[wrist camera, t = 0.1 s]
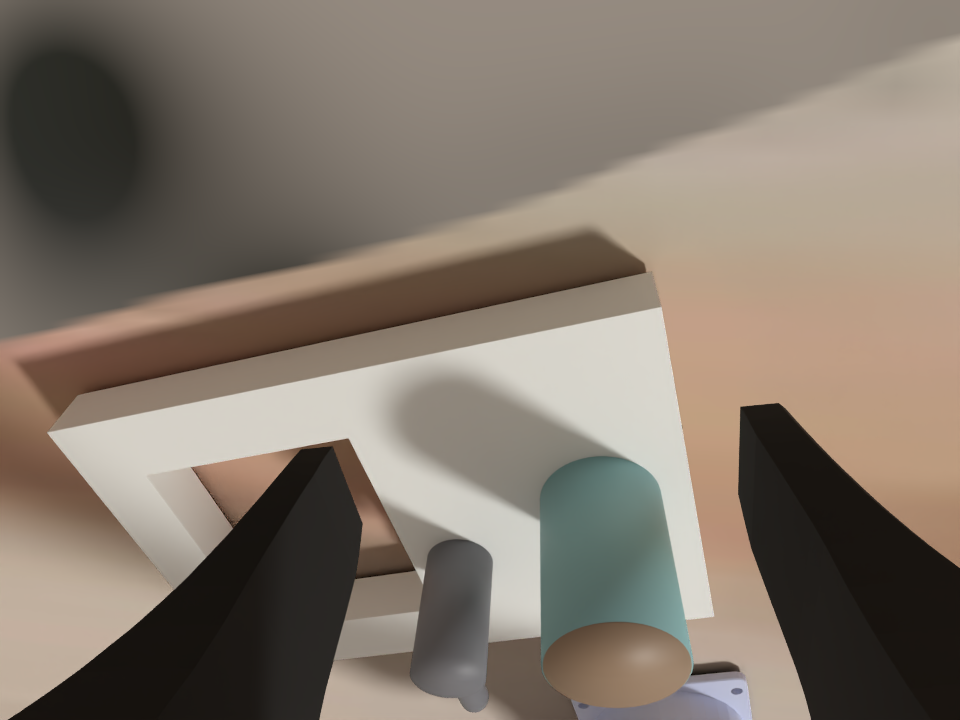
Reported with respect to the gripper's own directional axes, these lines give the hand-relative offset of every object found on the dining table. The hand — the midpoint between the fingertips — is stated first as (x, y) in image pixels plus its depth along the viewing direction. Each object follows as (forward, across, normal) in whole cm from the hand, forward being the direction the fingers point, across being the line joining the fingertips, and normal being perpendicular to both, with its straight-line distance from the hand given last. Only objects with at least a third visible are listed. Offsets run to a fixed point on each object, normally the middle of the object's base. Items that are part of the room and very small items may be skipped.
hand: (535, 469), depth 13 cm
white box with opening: (+10, +6, +10) cm, 15 cm away
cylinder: (+8, -1, +9) cm, 12 cm away
